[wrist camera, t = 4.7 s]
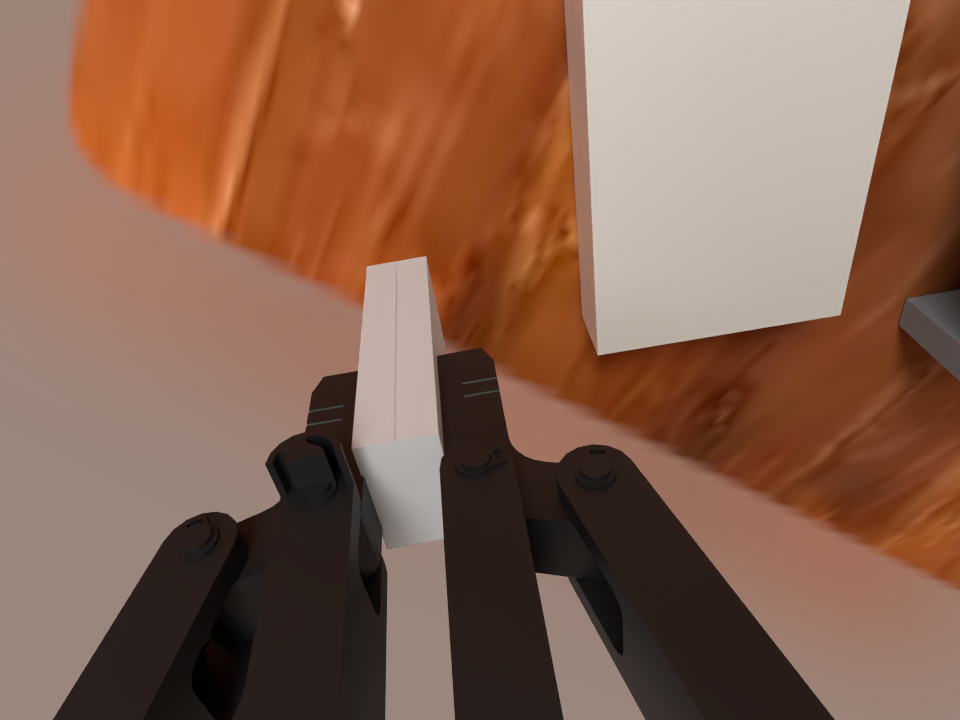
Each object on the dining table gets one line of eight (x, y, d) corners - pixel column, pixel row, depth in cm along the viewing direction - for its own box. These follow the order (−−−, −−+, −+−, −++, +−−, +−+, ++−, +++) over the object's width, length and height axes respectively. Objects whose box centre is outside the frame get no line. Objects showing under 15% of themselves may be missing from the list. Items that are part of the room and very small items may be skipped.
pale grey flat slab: (556, -125, 20) (577, -124, 18) (886, -183, 20) (953, -190, 17) (582, 316, 30) (597, 355, 27) (804, 278, 29) (840, 315, 27)
